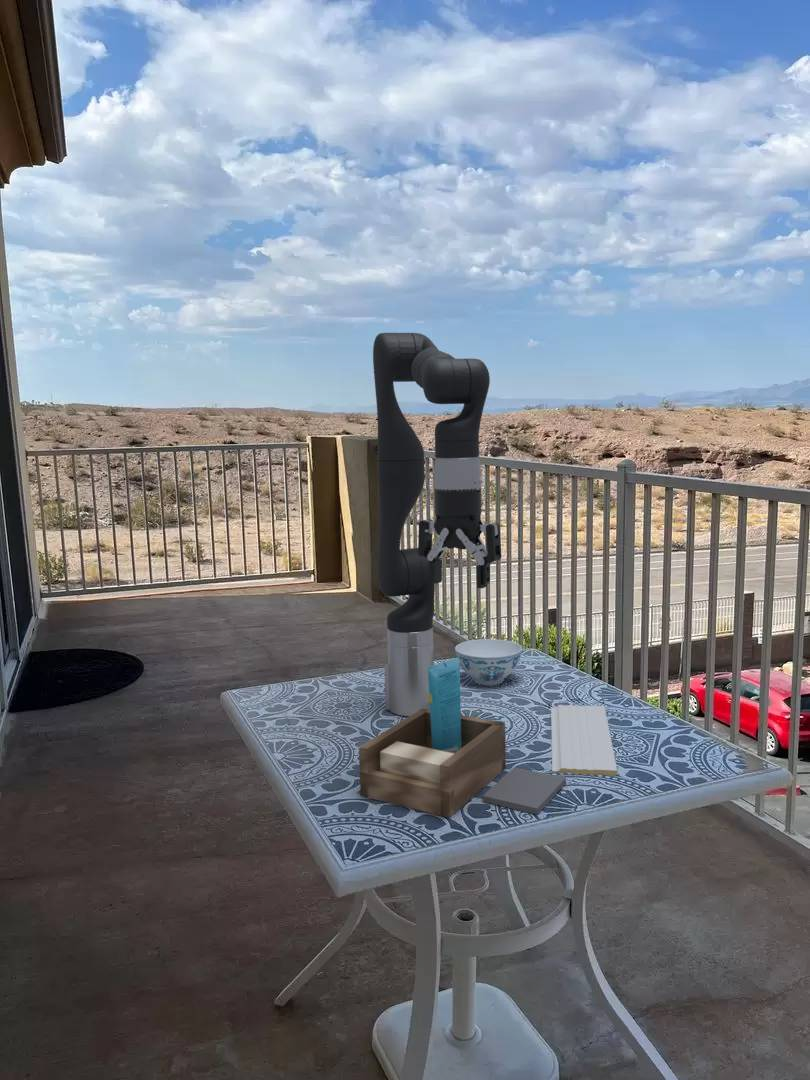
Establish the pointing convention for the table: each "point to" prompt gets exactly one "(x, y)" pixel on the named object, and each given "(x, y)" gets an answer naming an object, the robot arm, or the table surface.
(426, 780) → the offcut middle
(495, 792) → the mat
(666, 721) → the table surface
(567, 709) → the baseboard molding
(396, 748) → the offcut top
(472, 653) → the chinaware
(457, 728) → the tube
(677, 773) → the table surface
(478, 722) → the open wooden box
